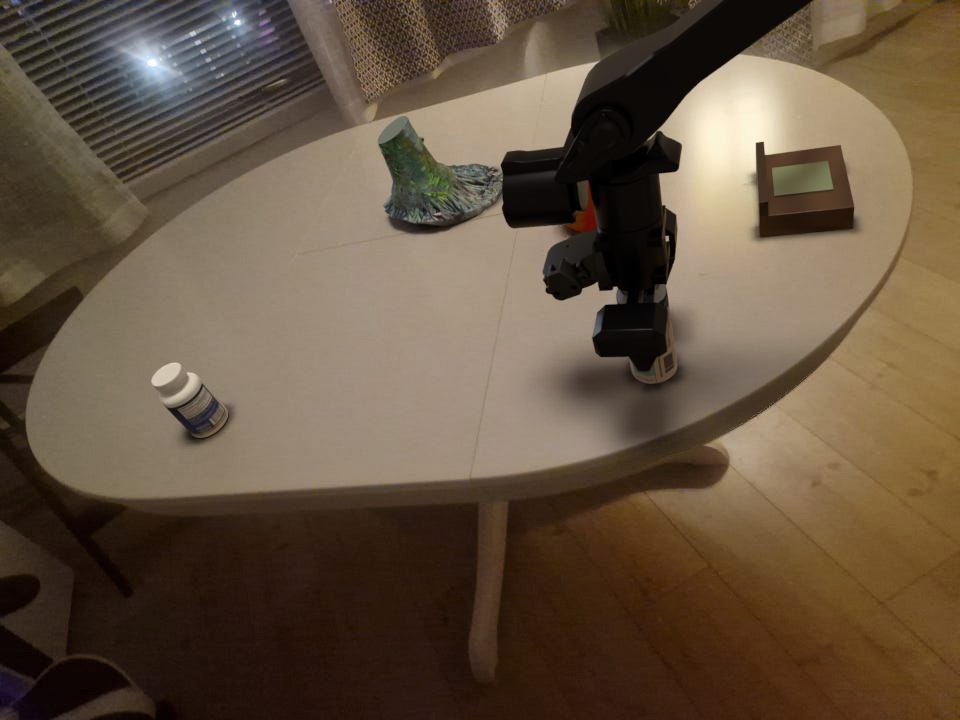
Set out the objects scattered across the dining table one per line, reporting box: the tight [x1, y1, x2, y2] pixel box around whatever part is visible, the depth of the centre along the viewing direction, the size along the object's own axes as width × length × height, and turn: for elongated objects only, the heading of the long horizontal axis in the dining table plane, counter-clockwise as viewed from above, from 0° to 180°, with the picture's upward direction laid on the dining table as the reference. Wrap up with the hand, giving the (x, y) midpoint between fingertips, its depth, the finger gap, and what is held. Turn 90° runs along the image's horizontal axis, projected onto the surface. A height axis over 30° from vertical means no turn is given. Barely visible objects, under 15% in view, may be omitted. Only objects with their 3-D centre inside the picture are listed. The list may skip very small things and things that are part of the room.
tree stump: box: [377, 115, 503, 227], centre depth 105 cm, size 18×20×18 cm
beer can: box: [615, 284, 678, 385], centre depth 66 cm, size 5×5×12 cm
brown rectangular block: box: [755, 141, 855, 238], centre depth 81 cm, size 10×14×5 cm
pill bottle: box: [150, 362, 229, 439], centre depth 83 cm, size 5×5×10 cm
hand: (647, 341), depth 67 cm, fingers closed on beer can, 8 cm apart
